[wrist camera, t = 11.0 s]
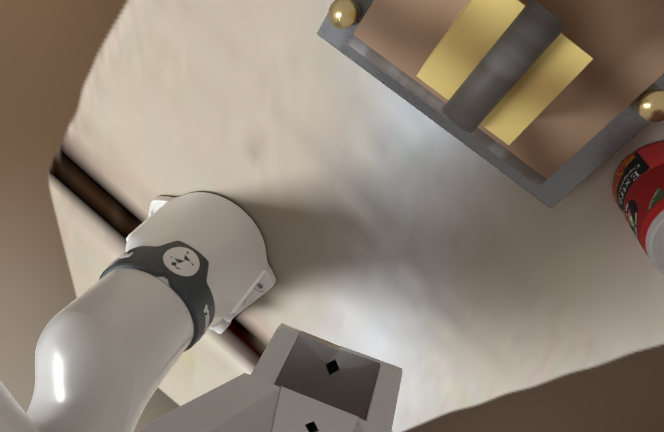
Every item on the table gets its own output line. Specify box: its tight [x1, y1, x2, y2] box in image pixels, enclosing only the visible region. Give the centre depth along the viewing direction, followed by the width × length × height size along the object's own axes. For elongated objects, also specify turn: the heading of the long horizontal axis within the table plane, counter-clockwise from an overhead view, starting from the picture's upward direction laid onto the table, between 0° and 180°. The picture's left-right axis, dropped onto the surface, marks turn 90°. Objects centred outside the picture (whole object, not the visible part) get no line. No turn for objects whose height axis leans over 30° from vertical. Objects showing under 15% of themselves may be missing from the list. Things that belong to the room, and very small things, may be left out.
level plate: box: [348, 0, 664, 186], centre depth 29 cm, size 19×20×10 cm
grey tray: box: [317, 0, 664, 208], centre depth 34 cm, size 22×26×5 cm
